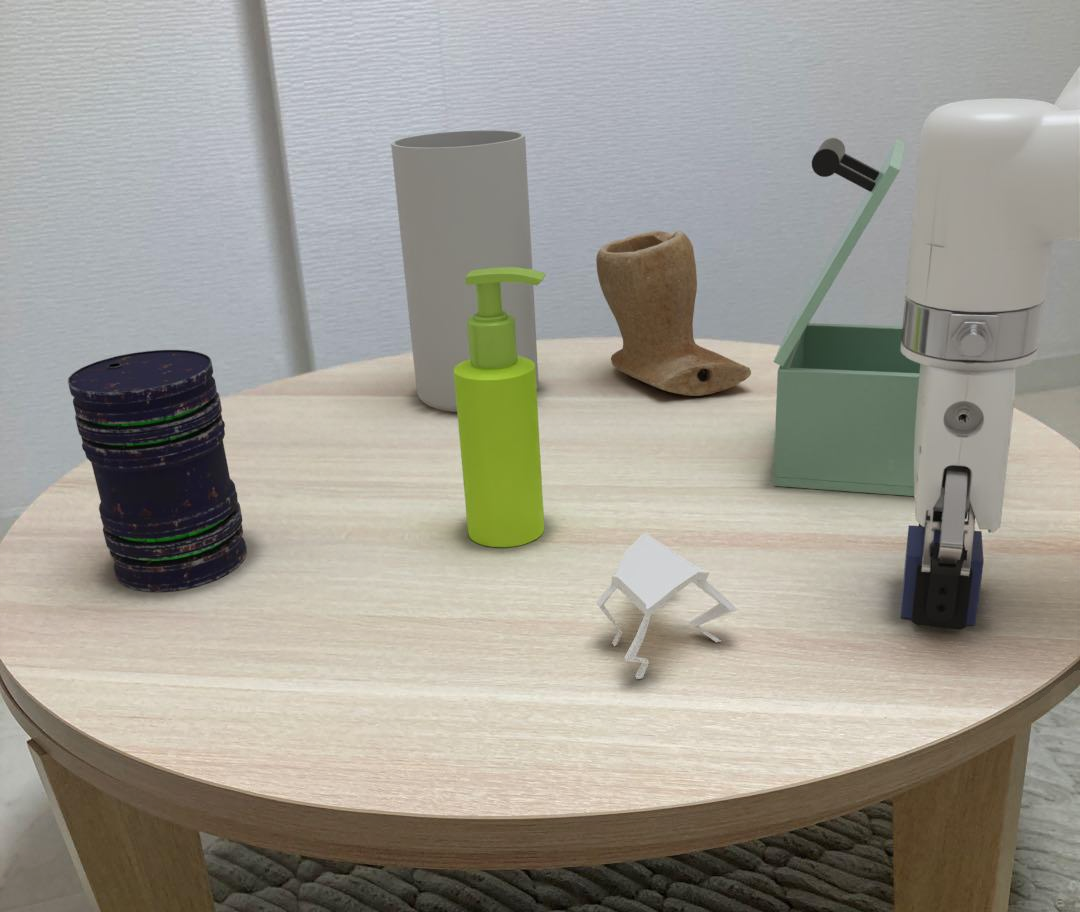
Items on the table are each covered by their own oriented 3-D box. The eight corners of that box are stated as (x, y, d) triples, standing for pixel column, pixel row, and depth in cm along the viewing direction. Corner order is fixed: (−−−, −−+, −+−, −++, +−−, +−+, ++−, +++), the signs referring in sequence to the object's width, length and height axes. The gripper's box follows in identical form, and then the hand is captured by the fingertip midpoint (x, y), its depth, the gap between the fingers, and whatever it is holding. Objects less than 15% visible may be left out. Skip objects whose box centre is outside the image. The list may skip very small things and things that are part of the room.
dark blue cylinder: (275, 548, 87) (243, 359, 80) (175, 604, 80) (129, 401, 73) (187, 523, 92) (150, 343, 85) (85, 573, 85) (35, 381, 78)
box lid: (905, 143, 91) (841, 109, 91) (900, 170, 79) (826, 131, 80) (801, 319, 99) (742, 288, 100) (782, 366, 88) (716, 331, 88)
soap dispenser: (551, 548, 84) (537, 279, 75) (460, 546, 85) (435, 281, 77) (562, 515, 89) (550, 259, 81) (476, 513, 91) (455, 261, 82)
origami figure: (754, 668, 68) (756, 596, 66) (619, 689, 67) (617, 617, 65) (691, 578, 79) (691, 513, 77) (574, 595, 78) (571, 530, 76)
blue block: (973, 591, 75) (981, 530, 73) (975, 625, 72) (983, 562, 70) (902, 585, 77) (908, 524, 75) (900, 618, 73) (906, 555, 71)
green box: (973, 438, 99) (986, 328, 95) (977, 501, 88) (992, 379, 84) (791, 427, 104) (796, 322, 100) (772, 486, 92) (777, 370, 88)
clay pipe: (582, 371, 122) (576, 229, 115) (679, 353, 126) (680, 215, 119) (647, 413, 109) (645, 256, 103) (753, 392, 113) (758, 239, 107)
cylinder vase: (484, 368, 125) (466, 127, 114) (564, 390, 117) (552, 133, 106) (393, 397, 117) (364, 143, 106) (471, 424, 109) (448, 151, 98)
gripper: (1052, 377, 58) (1006, 677, 65) (1030, 292, 72) (995, 546, 80) (897, 371, 60) (871, 661, 68) (906, 289, 74) (884, 536, 82)
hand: (938, 596), depth 74 cm, fingers open, 6 cm apart
